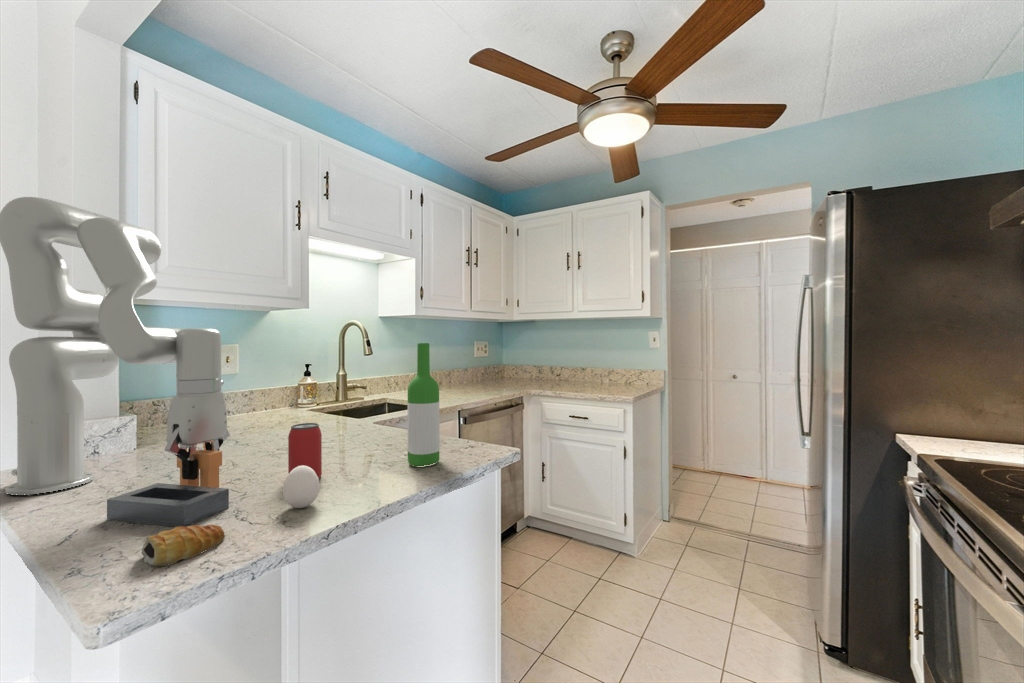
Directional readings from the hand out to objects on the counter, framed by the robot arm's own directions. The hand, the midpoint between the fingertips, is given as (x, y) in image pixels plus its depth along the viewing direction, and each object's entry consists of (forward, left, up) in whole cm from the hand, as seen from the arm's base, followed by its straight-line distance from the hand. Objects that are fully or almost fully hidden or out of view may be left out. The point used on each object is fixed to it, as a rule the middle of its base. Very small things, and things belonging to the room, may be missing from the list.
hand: (199, 474), depth 88 cm
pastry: (+22, -23, -3) cm, 32 cm away
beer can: (+18, +9, -3) cm, 20 cm away
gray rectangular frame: (+7, -12, -3) cm, 14 cm away
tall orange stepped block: (0, 0, -3) cm, 3 cm away
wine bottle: (+39, +25, -3) cm, 46 cm away
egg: (+28, -5, -3) cm, 29 cm away
